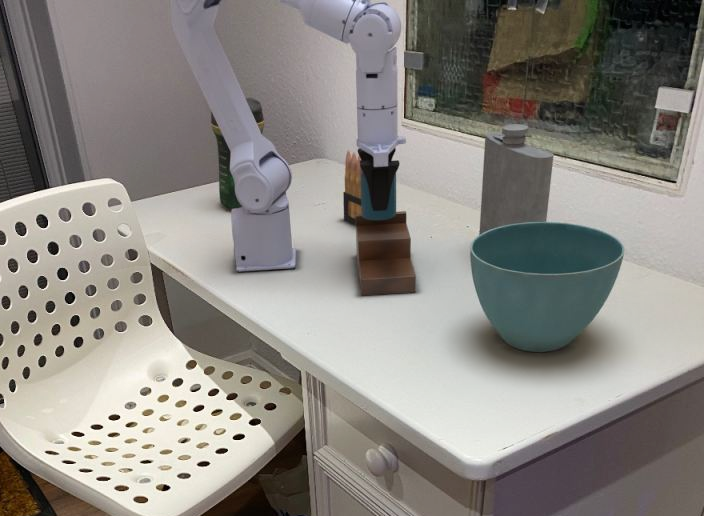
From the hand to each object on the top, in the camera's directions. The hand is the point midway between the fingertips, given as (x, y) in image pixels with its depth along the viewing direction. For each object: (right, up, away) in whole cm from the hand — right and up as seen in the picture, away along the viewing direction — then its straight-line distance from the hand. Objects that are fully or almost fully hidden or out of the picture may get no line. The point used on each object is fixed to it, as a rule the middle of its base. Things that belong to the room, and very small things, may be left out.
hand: (378, 204), depth 123 cm
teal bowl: (+19, -24, -16) cm, 35 cm away
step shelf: (+1, -10, +4) cm, 10 cm away
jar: (0, -1, +1) cm, 2 cm away
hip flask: (+20, -8, +5) cm, 22 cm away
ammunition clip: (-1, +4, +22) cm, 22 cm away
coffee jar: (-23, +13, +36) cm, 45 cm away
